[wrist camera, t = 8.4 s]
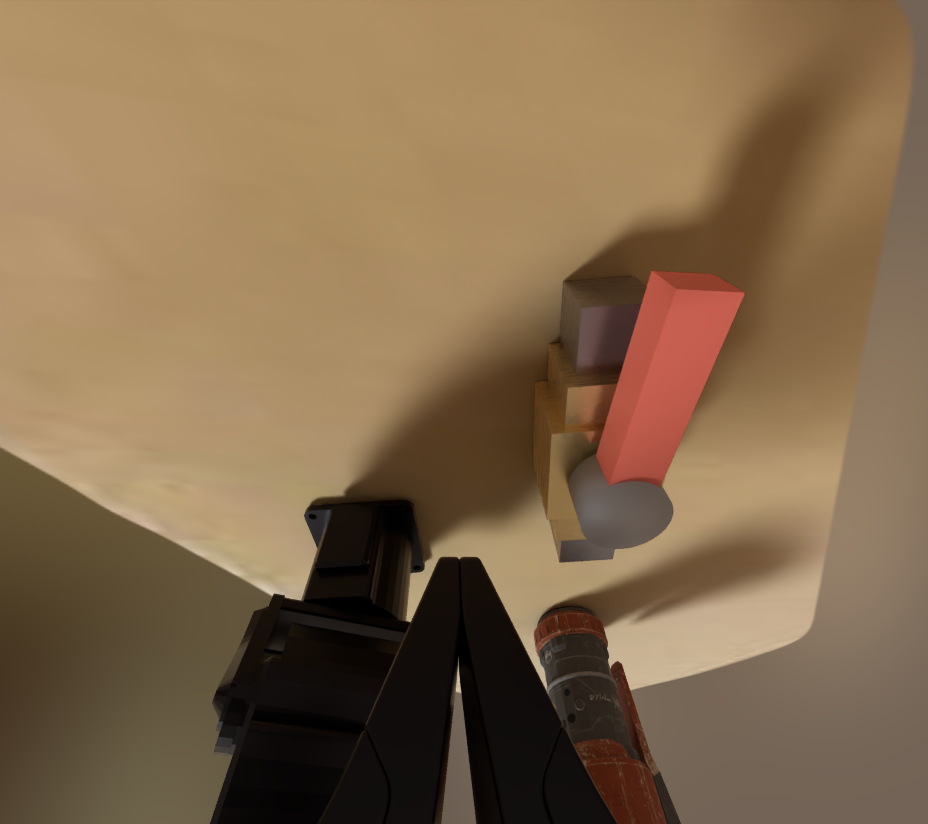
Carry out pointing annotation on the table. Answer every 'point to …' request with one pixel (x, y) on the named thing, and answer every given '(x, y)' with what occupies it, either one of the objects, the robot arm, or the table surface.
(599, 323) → the valve pipe
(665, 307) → the lever
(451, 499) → the table surface
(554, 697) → the grenade
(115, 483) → the table surface
